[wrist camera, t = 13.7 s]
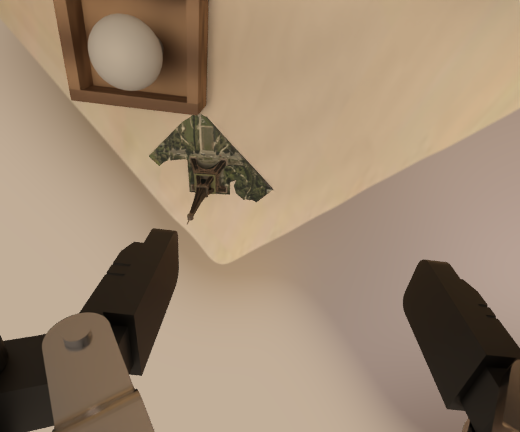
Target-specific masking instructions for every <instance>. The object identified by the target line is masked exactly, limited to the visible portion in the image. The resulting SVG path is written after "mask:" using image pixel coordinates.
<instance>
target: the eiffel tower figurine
mask: <svg viewBox="0 0 520 432" xmlns="http://www.w3.org/2000/svg"><path fill="white" fill-rule="evenodd" d="M149 157H150V158H151V159H152V160H153V161H155V162H156V163H157V164H158V165H159V166H160V165H161V164H162V163H163V162H165V161H167V160H177V159H180V160H181V159H186V160H188V172H189V187H190V192H195V193H196V194H195V198H194V201H193V204H192V207H191V210H190V213H189V214H188V216H187V217H188V220H193V216H194V214H195V212H196V211H197V209H198V207H199V206H200V204H201V202H202V201H203V200H204V198H205V197H208V195H209V194H229V195H230V182H232V181H235V180H236V182H235V184H234V187H235V191H236V194H238V195H239V196H240V197H241V198H242V199H243V200H245V199H247V200H253V201H255V202H257V201H259V200H260V199H261V198H263V197H264V196H265V195H266V194H268V193H269V192H270V191H272V190H273V189H272V188H271V187H270V186H269V185H268V184H267V183H266V182H265V180H264V179H263V178H262V177H261V176H260V175H259V174H258V173H257V172H256V170H255V169H254V168H253V167H252V166H251V165H250V164H249V163H248V162H247V161H246V160H245V159H244V158H243V157H242V156H241V155H240V153H239V152H238V151H237V150H236V149H235V148H234V147H233V146H232V145H231V144H230V143H229V141H228V140H227V139H226V138H225V137H224V136H223V135H222V134H221V133H220V132H219V130H218V129H217V128H216V127H215V126H214V125H213V124H212V122H211V121H210V120H209V119H208V118H207V117H205V116H203V115H201V114H200V113H199V115H192V116H191V117H190V118H188V119H186V120H185V121H183V122H182V123H181V124H180V125H179V126H178V127H177V128H176V129H175V130H174V131H173V132H172V133H171V134H170V135H169V136H168V137H167V138H166V139H165V140H164V141H163V142H162V143H161V144H160V146H159V147H158V148H157V149H156V150H155V151H154V152H153V153H152V154H151V155H150V156H149ZM188 222H189V221H188ZM187 224H188V223H187Z"/></svg>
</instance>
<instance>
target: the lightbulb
mask: <svg viewBox="0 0 520 432" xmlns="http://www.w3.org/2000/svg"><path fill="white" fill-rule="evenodd" d="M88 53H89V57H90V60H91V63H92V65H93V67H94V69H95V70H96V72H97V73H98V74H99V76H100V77H101V78H102V79H103V80H105V81H106V82H107V83H109V84H110V85H112V86H114V87H116V88H118V89H122V90H127V91H137V90H141V89H144V88H146V87H148V86H149V85H151V84H152V83H153V82H154V81H155V80H156V79H157V77H158V75H159V74H160V71H161V68H162V62H163V53H164V47H163V44H162V42H161V40H160V39H159V38H158V37H156V35H155V33H154V32H153V31H152V30H151V29H150V27H149V26H147V25H146V24H145V23H144V22H143V21H141V20H140V19H138V18H136V17H134V16H131V15H128V14H119V13H117V14H110V15H108V16H105V17H103V18H102V19H101V20H99V21H98V22H97V23H96V24H95V25H94V27H93V28H92V30H91V33H90V35H89V39H88Z"/></svg>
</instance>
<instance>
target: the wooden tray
mask: <svg viewBox="0 0 520 432" xmlns="http://www.w3.org/2000/svg"><path fill="white" fill-rule="evenodd" d="M53 2H54V8H55V13H56V19H57V24H58V30H59V35H60V41H61V46H62V52H63V57H64V63H65V68H66V74H67V79H68V85H69V90H70V96H71V100H74V101H82V102H90V103H99V104H107V105H115V106H124V107H132V108H140V109H149V110H157V111H166V112H174V113H182V114H191V115H199V113H200V112H201V111H202V110H203V108H204V107H205V106H206V87H207V42H208V0H53ZM117 13H119V14H128V15H131V16H134V17H136V18H138V19H140V20H141V21H143V22H144V23H145V24H146V25H147V26H149V27H150V29H151V30H152V31H153V32H154V33H155V35H156V37H158V38H159V39H160V40H161V42H162V44H163V47H164V53H163V62H162V68H161V71H160V74H159V75H158V77H157V79H156V80H155V81H154V82H153V83H152V84H151V85H149V86H148V87H146V88H144V89H141V90H137V91H127V90H122V89H118V88H116V87H114V86H112V85H110V84H109V83H107V82H106V81H105V80H103V79H102V78H101V77H100V76H99V74H98V73H97V72H96V70H95V69H94V67H93V65H92V63H91V60H90V57H89V53H88V39H89V35H90V33H91V30H92V28H93V27H94V25H95V24H96V23H97V22H98V21H99V20H101V19H102V18H103V17H105V16H108V15H110V14H117Z"/></svg>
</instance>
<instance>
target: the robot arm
mask: <svg viewBox="0 0 520 432" xmlns="http://www.w3.org/2000/svg"><path fill="white" fill-rule="evenodd" d="M178 270H179V261H178V234H177V231H172V230H162V229H152V230H151V232H150V233H149V235H148V237H147V238H146V240H145V242H144V243H140V242H134V243H132V244H130V245H129V246H128V247H126V248H125V249H124V250H122V251H121V252H120V253H119V255H118V256H117V258H116V259H115V261H114V262H113V265H111V267H110V268H109V270H108V271H107V274H106V275H105V276H104V277H103V279H102V280H101V282H100V283H99V285H98V286H97V288H96V289H95V291H94V292H93V293H92V295H91V296H90V298H89V299H88V301H87V302H86V304H85V305H84V307H83V308H82V310H81V312H80V313H78V314H75V315H71V316H69V317H66V318H65V319H63V320H61V321H60V322H58V323H56V324H55V325H54V326H53V327H52V328H51V329H50V330H49V331H48V333H47V334H43V335H38V336H32V337H26V338H20V339H13V340H7V341H3V340H2V338H1V336H0V432H28V431H33V430H37V429H41V428H46V427H50V426H54V430H53V431H52V432H154V429H153V427H152V424H151V421H150V419H149V416H148V413H147V411H146V408H145V405H144V403H143V400H142V398H141V396H140V393H139V391H138V390H137V389H134V387H133V384H132V382H131V379H130V376H129V374H131V375H140V376H142V374H143V371H144V368H145V366H146V363H147V361H148V358H149V355H150V353H151V350H152V347H153V345H154V342H155V339H156V337H157V334H158V331H159V329H160V326H161V324H162V321H163V318H164V315H165V313H166V310H167V308H168V305H169V302H170V300H171V297H172V294H173V292H174V289H175V286H176V283H177V278H178ZM403 308H404V312H405V315H406V317H407V319H408V321H409V324H410V326H411V328H412V330H413V333H414V335H415V337H416V340H417V342H418V344H419V346H420V349H421V351H422V353H423V355H424V358H425V360H426V362H427V365H428V367H429V369H430V371H431V374H432V376H433V378H434V381H435V383H436V385H437V387H438V390H439V392H440V394H441V396H442V399H443V401H444V403H445V405H446V408H447V409H452V410H462V411H466V414H467V415H468V420H467V421H466V422H465V424H464V426H463V429H462V432H520V348H519V347H518V345H517V344H516V343H515V341H514V340H513V338H512V337H511V336H510V334H509V333H508V332H507V330H506V329H505V328H504V326H503V325H502V324H501V322H500V321H499V320H498V319H496V316H495V314H494V313H493V312H492V310H491V309H490V308H489V307H487V303H486V302H485V301H484V300H483V298H482V297H481V295H480V294H479V293H478V291H476V290H475V289H474V288H473V287H471V286H470V285H469V284H468V283H467V282H465V281H464V280H463V279H460V278H459V277H458V275H457V274H456V272H455V271H454V269H453V268H452V267H451V265H450V264H448V263H447V262H440V261H431V260H422V261H420V262H419V263H418V265H417V267H416V269H415V272H414V274H413V276H412V278H411V280H410V282H409V285H408V287H407V289H406V291H405V294H404V297H403Z"/></svg>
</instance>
